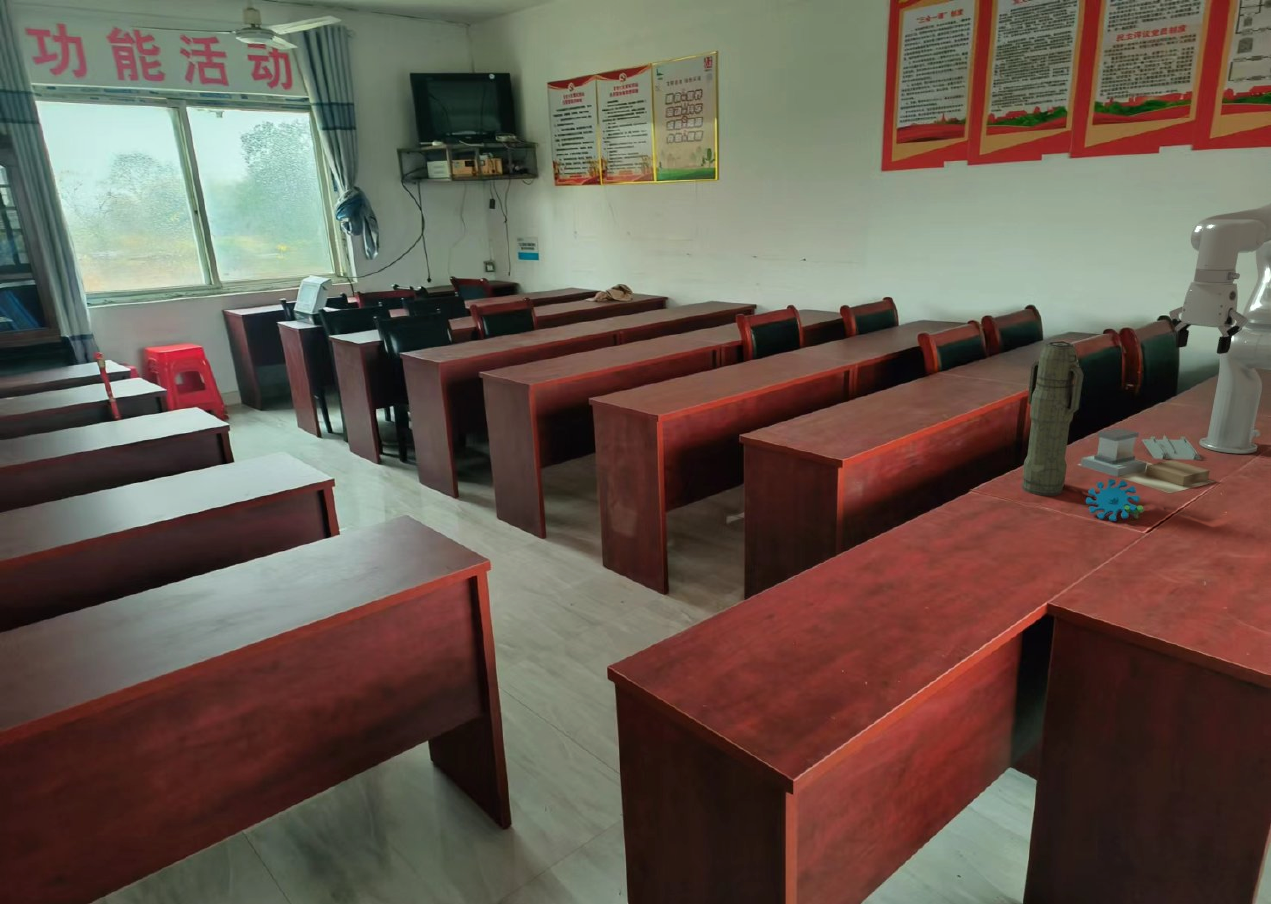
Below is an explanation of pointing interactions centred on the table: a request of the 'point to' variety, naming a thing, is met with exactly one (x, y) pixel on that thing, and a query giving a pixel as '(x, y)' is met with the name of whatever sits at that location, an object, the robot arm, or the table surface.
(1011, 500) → the table surface
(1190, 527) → the table surface
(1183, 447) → the metal bracket
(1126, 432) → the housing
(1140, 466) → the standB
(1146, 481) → the board
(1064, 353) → the thermos
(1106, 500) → the gear
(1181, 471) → the stand
